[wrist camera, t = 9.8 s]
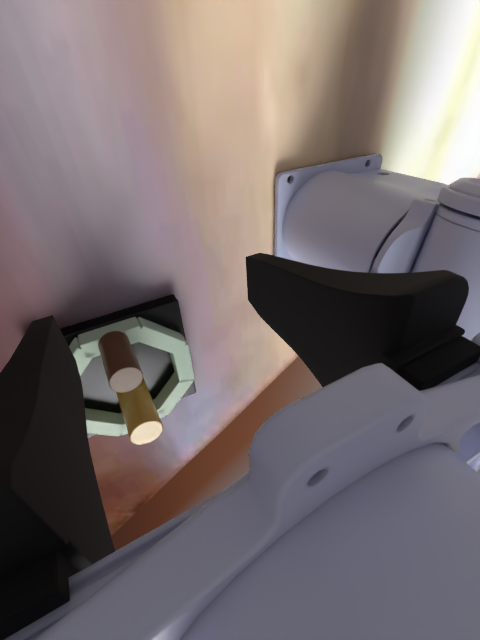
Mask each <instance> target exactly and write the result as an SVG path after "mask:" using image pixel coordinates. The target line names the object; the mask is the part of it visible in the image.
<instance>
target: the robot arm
mask: <svg viewBox="0 0 480 640" xmlns="http://www.w3.org/2000/svg"><path fill="white" fill-rule="evenodd" d="M366 161H367V162H366ZM365 163H366V165H365ZM381 163H382V156H381V155H380V154H371V155H366V156H361V157H356V158H350V159H345V160H340V161H335V162H330V163H325V164H320V165H314V166H309V167H304V168H299V169H294V170H289V171H283V172H280V173H279V174H278V175H277V177H276V180H275V243H274V256H273V255H268V254H262V253H258V254H254V255H251V256H248V257H246V270H247V288H248V300H249V302H250V303H251V304H252V306H253V307H254V309H255V310H256V311H257V313H258V314H259V315H260V317H261V318H262V319H263V320H264V321H265V322H266V323H267V324H268V325H269V326H270V327H271V328H272V329H273V330H274V331H275V332H276V333H277V334H278V335H279V336H280V337H281V338H282V339H283V340H284V341H285V342H286V343H287V344H288V345H289V346H290V347H291V348H292V349H293V350H294V351H295V352H296V353H297V354H298V356H299V357H300V358H301V359H302V360H303V362H304V363H305V364H306V365H307V367H308V368H309V369H310V371H311V372H312V373H313V374H314V376H315V377H316V378H317V380H318V381H319V383H320V384H321V385H322V387H323V388H321V389H319V390H317V391H315V392H313V393H311V394H309V395H307V396H305V397H303V398H301V399H299V400H297V401H295V402H293V403H291V404H289V405H287V406H285V407H283V408H282V409H281V410H279V411H278V412H276V413H275V414H273V415H272V416H271V417H269V418H268V419H267V420H266V421H265V422H264V424H263V425H262V426H261V427H260V428H259V430H258V431H257V432H256V434H255V435H254V437H253V441H252V444H251V448H250V452H249V455H248V456H249V467H250V470H249V471H248V472H247V473H245V474H244V475H243V476H241V477H240V478H239V479H238V480H236V481H235V482H234V483H233V484H231V485H230V486H229V487H227V488H226V489H225V490H223V491H222V492H220V493H218V494H216V495H214V496H213V497H211V498H209V499H207V500H206V501H204V502H202V503H200V504H199V505H197V506H195V507H193V508H191V509H190V510H188V511H186V512H184V513H183V514H181V515H179V516H177V517H175V518H174V519H172V520H170V521H168V522H167V523H165V524H163V525H161V526H159V527H158V528H156V529H154V530H152V531H151V532H149V533H147V534H145V535H143V536H142V537H140V538H138V539H136V540H135V541H133V542H131V543H129V544H128V545H126V546H124V547H122V548H121V549H119V550H117V551H115V549H114V545H113V542H112V538H111V534H110V531H109V527H108V523H107V519H106V515H105V512H104V508H103V504H102V500H101V496H100V492H99V488H98V484H97V480H96V475H95V471H94V467H93V462H92V458H91V454H90V449H89V443H88V435H87V425H86V416H85V406H84V397H83V388H82V382H81V378H80V374H79V370H78V366H77V363H76V360H75V358H74V356H73V354H72V352H71V350H70V348H69V346H68V344H67V342H66V340H65V338H64V336H63V334H62V332H61V330H60V328H59V326H58V324H57V322H56V320H55V318H54V317H53V315H52V316H49V317H45V318H42V319H39V320H35V321H32V323H31V325H30V326H29V328H28V330H27V331H26V333H25V335H24V337H23V338H22V340H21V342H20V344H19V345H18V347H17V349H16V350H15V352H14V354H13V355H12V357H11V358H10V360H9V362H8V363H7V364H6V366H5V367H4V369H3V370H2V372H1V373H0V640H480V474H479V473H478V472H477V470H479V469H480V179H478V178H460V179H458V180H457V181H455V182H453V183H451V184H450V185H446V184H443V183H439V182H435V181H430V180H426V179H422V178H417V177H413V176H409V175H404V174H400V173H396V172H392V171H387V170H383V169H380V168H381ZM289 176H290V181H289V182H288V181H287V179H288V177H289Z"/></svg>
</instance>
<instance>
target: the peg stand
mask: <svg viewBox="0 0 480 640" xmlns="http://www.w3.org/2000/svg"><path fill="white" fill-rule="evenodd" d="M132 317H136V318H138V317H141V318H143V319H146V320H148V321H151V322H153V323H156V324H158V325H161V326H163V327H166V328H168V329H171V330H174V331H176V332H179V333H181V334H182V335H183V337H184V338H185V333H184V328H183V323H182V318H181V313H180V308H179V303H178V300H177V299H176V297H175V296H174V295H169V296H166V297H163V298H159V299H156V300H153V301H150V302H146V303H143V304H140V305H137V306H133V307H130V308H127V309H124V310H120V311H117V312H114V313H111V314H107V315H104V316H101V317H98V318H94V319H91V320H88V321H85V322H81V323H78V324H75V325H72V326H68V327H65V328H62V329H60V330H61V332H62V334H63V336H64V338H65V340H66V342H67V344H68V346H70V344H71V343H72V341H73V340H74V338H75V337H76V338H78V335H79V334H82V333H85V332H88V331H91V330H94V329H97V328H101V327H104V326H107V325H110V324H113V323H116V322H119V321H123V320H126V319H129V318H132ZM185 340H186V338H185ZM131 346H132V348H133V351H134V353H135V356H136V358H137V361H138V363H139V366H140V368H141V371H142V373H143V379H142V382H141V383H140V385H139V386H138V387H136V388H135V389H133V390H131V391H129V392H123V393H121V392H116V391H114V390H112V389H111V388H110V386H109V383H108V380H107V376H106V372H105V369H104V365H103V362H102V358H101V355H99V356H96V357H93V358H92V359H91V361H90V362H89V364H88V365H87V367H86V369H85V370H84V372H83V373H82V375H81V376H80V378H81V382H82V388H83V397H84V406H85V408H89V409H95V410H101V411H107V412H114V413H122V414H123V417H124V421H125V424H126V428H127V431H128V434H129V438H130V440H131V442H132V443H134V444H138V445H142V444H147V443H150V442H152V441H153V440H155V439H156V438H158V437H159V435H160V434H161V433H162V430H163V425H162V422H161V420H160V417H159V415H158V412H157V410H156V407H155V405H154V402H153V399H155V398H156V397H157V395H158V394H159V393H160V391H161V390H162V388H163V387H164V386H165V384H166V383H167V382H168V380H169V379H170V377H171V376H172V375H173V373H174V372H175V371H174V367H173V363H172V359H171V355H170V352H167V351H164V350H161V349H158V348H155V347H152V346H149V345H147V344H144V343H141V342H137V343H134V344H131ZM193 380H194V379H193ZM195 392H196V389H195V384H194V381H193V383H192V384H191V385H190V387H189V388H188V389H187V391H186V392H185V394H184V395H183V396H182V398H184V397H186V396H188V395H191V394H193V393H195ZM87 435H88V438H90V437H93V436H95V435H97V434H92V433H87Z"/></svg>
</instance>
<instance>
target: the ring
mask: <svg viewBox="0 0 480 640" xmlns="http://www.w3.org/2000/svg"><path fill="white" fill-rule="evenodd" d="M137 342H141V343H144V344H147V345H149V346H152V347H155V348H158V349H161V350H164V351H167V352H170V355H171V359H172V363H173V367H174V371H175V372H174V373H173V375H172V376H171V377H170V379H169V380H168V382H167V383H166V384H165V386H164V387H163V388H162V390H161V391H160V393H159V394H158V395H157V397H156V398H155V399H153V402H154V405H155V407H156V410H157V412H158V415H159V417H160V419H161V418H163V417H166V414H170V412H171V411H172V410H173V408H174V407H175V406H176V404H177V403H178V402H179V400H180V399H181V398H182V396H183V395H184V394H185V392H186V391H187V389H188V388H189V387H190V385H191V384H192V383H193V381H194V380H193V379H195V377H194V372H193V367H192V361H191V356H190V351H189V346H188V343H187V341H186V340H185V338H184V337H183V335H182V334H181V333H179V332H176V331H174V330H171V329H168V328H166V327H163V326H161V325H158V324H156V323H153V322H151V321H148V320H146V319H143V318H141V317H138V318H136V317H132V318H129V319H126V320H123V321H119V322H116V323H113V324H110V325H107V326H104V327H101V328H97V329H94V330H91V331H88V332H85V333H82V334H79V335H78V338H76V337H75V338H74V340H73V341H72V343H71V344H70V346H69V348H70V350H71V352H72V354H73V356H74V358H75V360H76V363H77V366H78V370H79V374H80V376H81V375H82V373H83V372H84V370H85V369H86V367H87V365H88V364H89V362H90V361H91V359H92V358H93V357H96V356H99V355H101V358H102V362H103V365H104V369H105V372H106V376H107V380H108V383H109V386H110V388H111V389H112V390H114V391H116V392H121V393H123V392H129V391H131V390H133V389H135V388H136V387H138V386H139V385H140V383H141V382H142V379H143V373H142V371H141V368H140V366H139V363H138V361H137V358H136V356H135V353H134V351H133V348H132V346H131V344H134V343H137ZM85 416H86V425H87V433H92V434H101V435H110V436H119V435H120V434H121V435H125V434H127V433H128V431H127V428H126V424H125V421H124V417H123V414H122V413H114V412H107V411H101V410H95V409H89V408H85Z"/></svg>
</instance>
